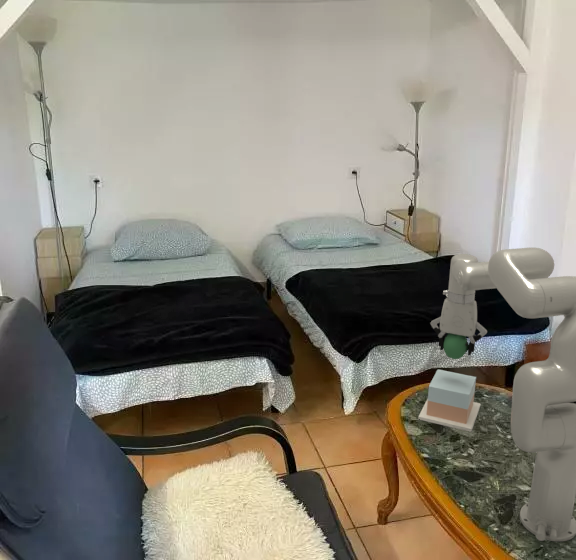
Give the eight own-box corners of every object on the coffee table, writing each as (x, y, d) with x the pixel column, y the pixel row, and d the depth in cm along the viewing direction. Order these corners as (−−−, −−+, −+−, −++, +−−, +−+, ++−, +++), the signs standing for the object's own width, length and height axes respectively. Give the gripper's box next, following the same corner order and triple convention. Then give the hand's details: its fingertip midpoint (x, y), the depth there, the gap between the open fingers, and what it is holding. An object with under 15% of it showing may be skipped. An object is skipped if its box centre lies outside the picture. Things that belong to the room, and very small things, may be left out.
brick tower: (471, 431, 179) (475, 399, 175) (418, 419, 185) (420, 387, 182) (480, 406, 192) (483, 375, 188) (430, 395, 199) (432, 365, 195)
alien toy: (471, 363, 179) (474, 332, 176) (445, 363, 179) (447, 332, 176) (465, 352, 185) (468, 323, 182) (440, 352, 186) (442, 322, 182)
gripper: (428, 296, 176) (424, 350, 182) (490, 305, 169) (483, 361, 175) (434, 288, 182) (430, 341, 188) (494, 296, 175) (487, 351, 181)
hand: (455, 350), depth 181 cm, fingers closed on alien toy, 7 cm apart
